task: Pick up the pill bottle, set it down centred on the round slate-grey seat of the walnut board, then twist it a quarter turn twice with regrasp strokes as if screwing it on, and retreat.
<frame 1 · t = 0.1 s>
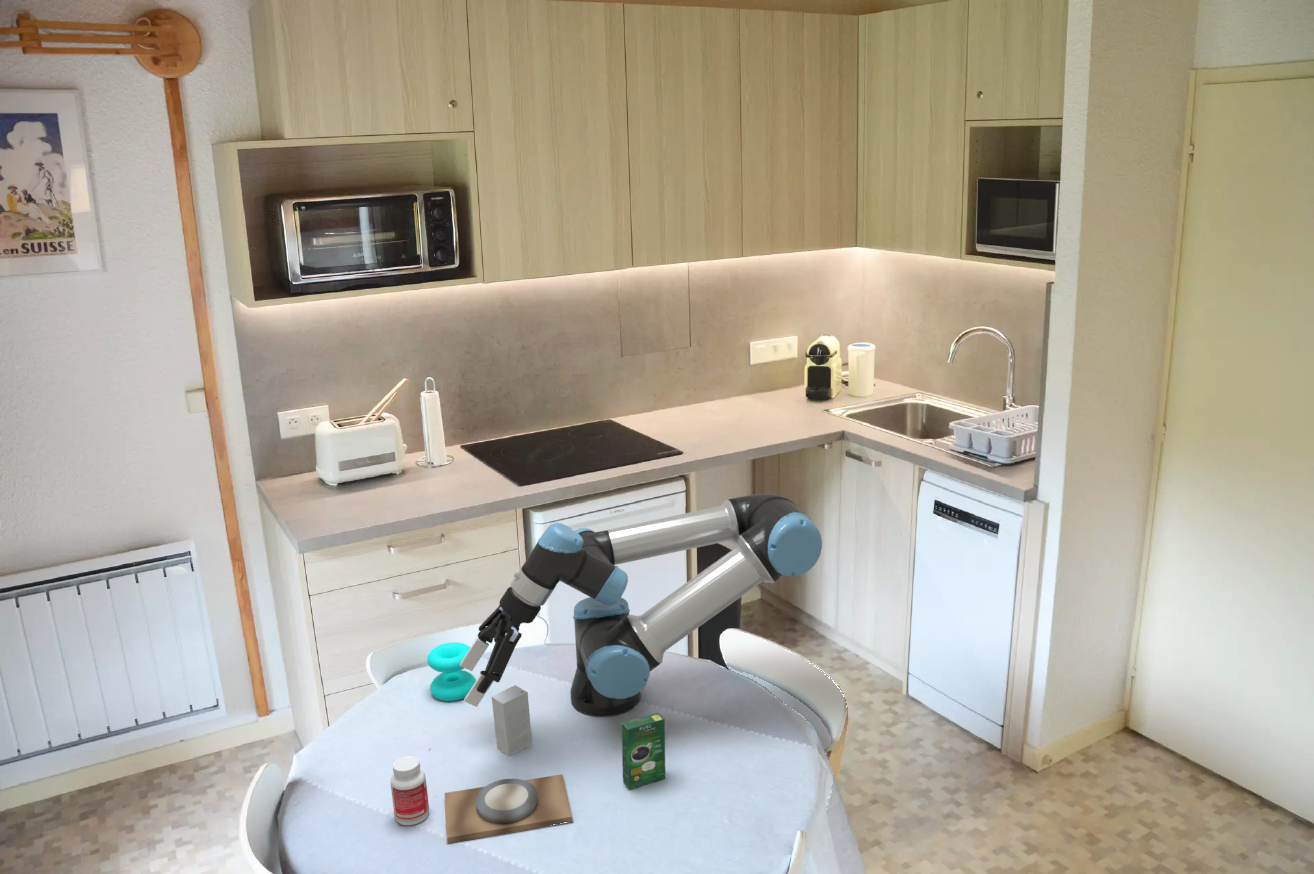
hand: (467, 685, 201), 15 cm above the table, tool tilted 35°, fingers open, 13 cm apart
coffee box: (644, 781, 195), on the table
pill bottle: (412, 816, 188), on the table
donuts: (454, 692, 229), on the table
skincare box: (514, 747, 208), on the table
seat board: (507, 810, 188), on the table
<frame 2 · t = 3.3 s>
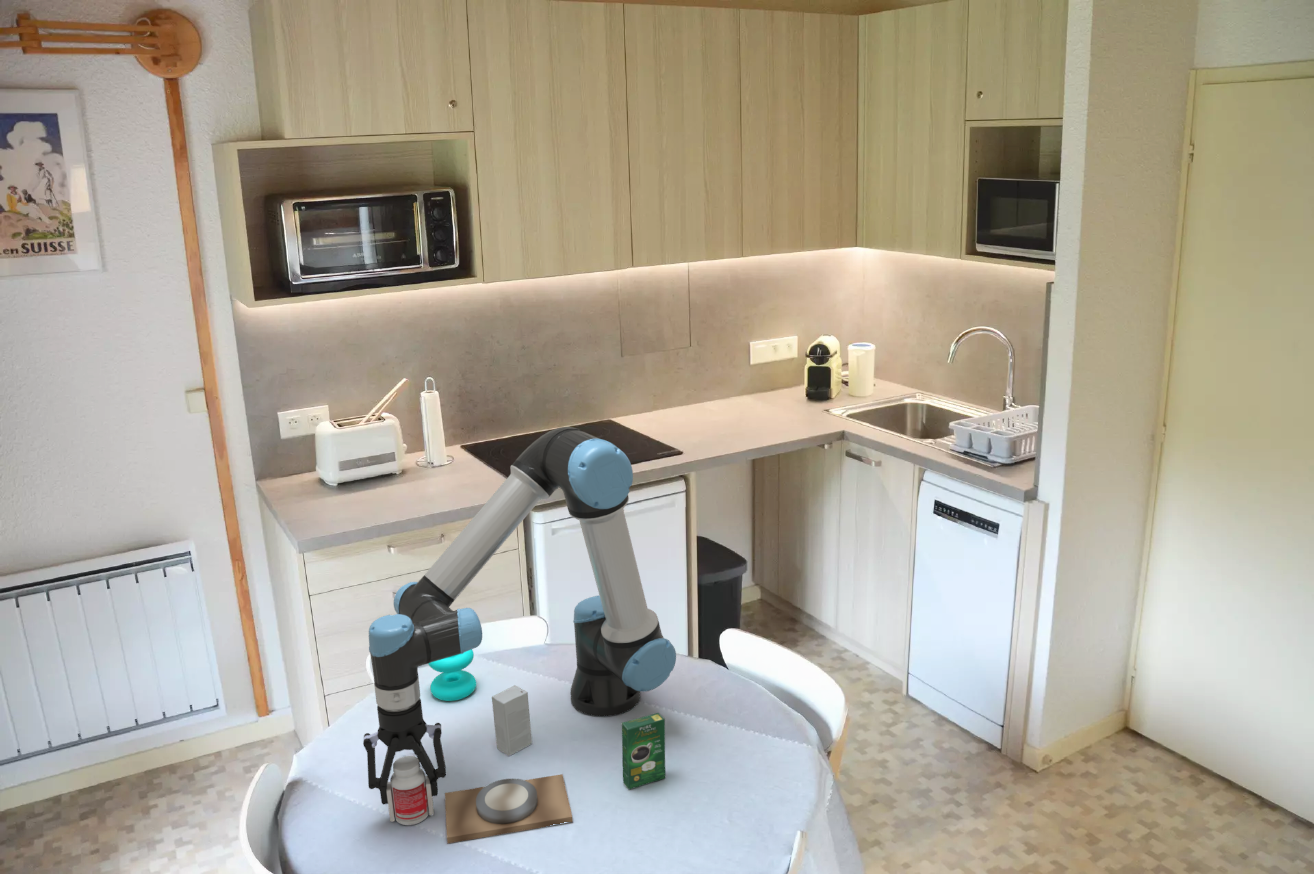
hand: (412, 813, 187), 0 cm above the table, tool pointing down, fingers closed on pill bottle, 6 cm apart
pill bottle: (412, 816, 188), on the table, touching gripper
everything else where it was.
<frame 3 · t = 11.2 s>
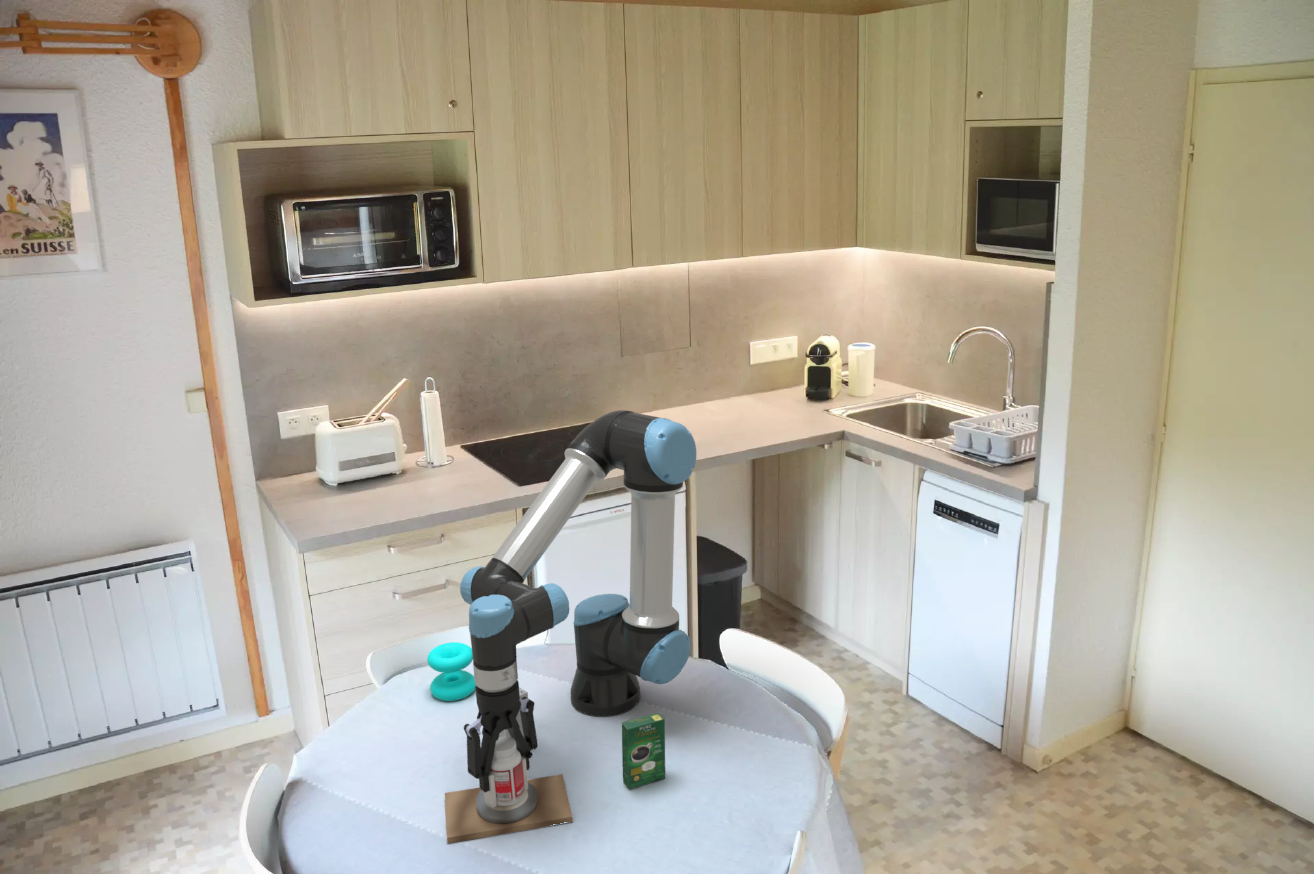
hand: (506, 795, 187), 3 cm above the table, tool pointing down, fingers closed on pill bottle, 6 cm apart
pill bottle: (507, 797, 187), point 3 cm above the table, touching gripper
everything else where it was.
when the fingers open (3 cm above the table, at t = 14.0 s): pill bottle stays where it is, resting on seat board.
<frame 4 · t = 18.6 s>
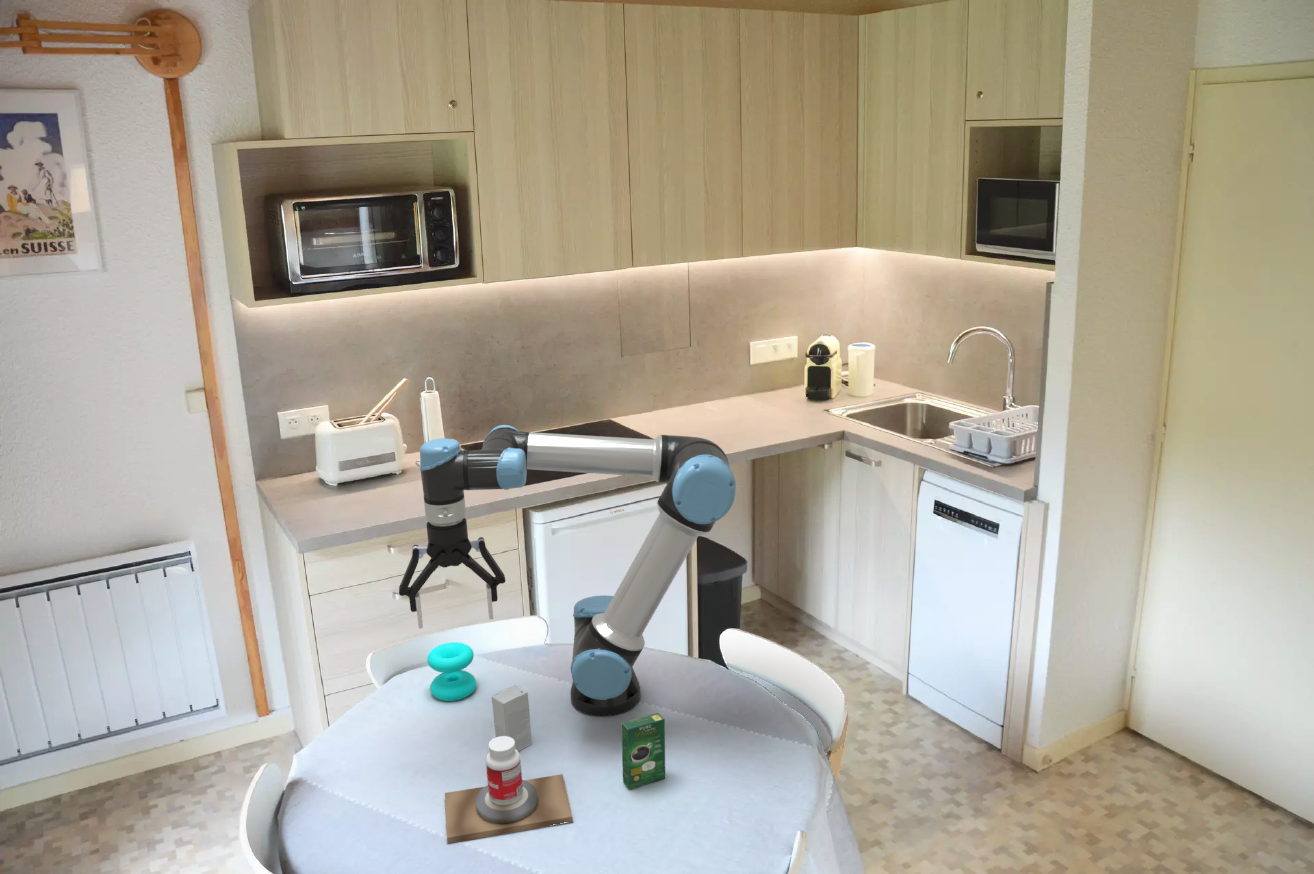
hand: (456, 620, 203), 27 cm above the table, tool pointing down, fingers open, 13 cm apart
pill bottle: (506, 797, 188), point 3 cm above the table, touching seat board
everything else where it was.
at the end: pill bottle 0.2 cm off-centre on the seat board, point 2.7 cm above the seat board's base; pill bottle tilted 0°; the gripper is holding nothing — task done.
